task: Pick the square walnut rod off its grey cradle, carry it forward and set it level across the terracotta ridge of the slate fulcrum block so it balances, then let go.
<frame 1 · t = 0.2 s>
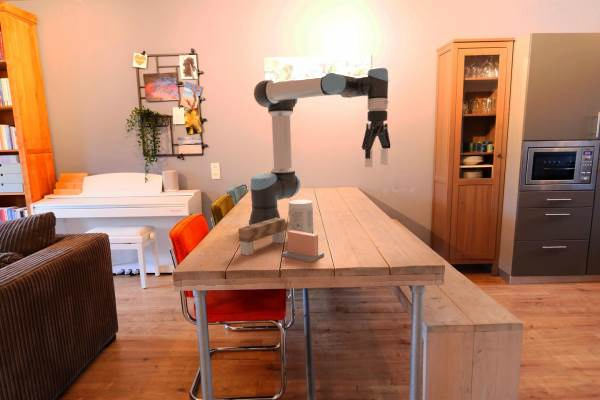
hand: (376, 166, 141), 28 cm above the table, fingers open, 13 cm apart
supplement tub: (301, 237, 144), on the table
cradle: (263, 247, 132), on the table
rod: (263, 235, 132), point 4 cm above the table, touching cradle
fulcrum: (302, 255, 122), on the table
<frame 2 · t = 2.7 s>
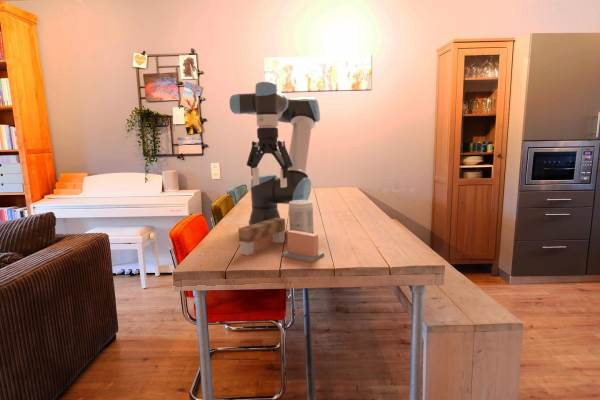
hand: (269, 186, 132), 22 cm above the table, fingers open, 13 cm apart
nothing on the table moved.
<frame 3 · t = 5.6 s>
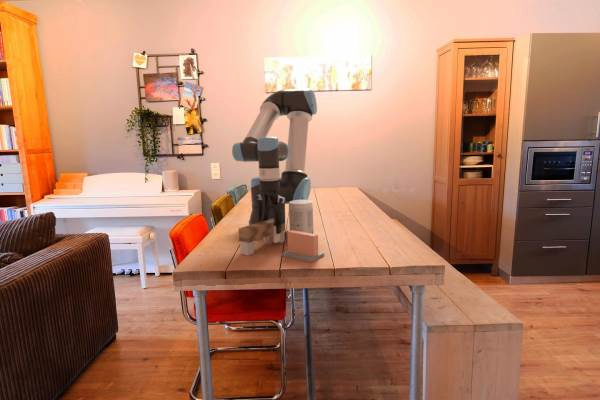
hand: (271, 240, 136), 1 cm above the table, fingers closed on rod, 4 cm apart
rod: (263, 235, 132), point 5 cm above the table, touching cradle, gripper
everything else where it was.
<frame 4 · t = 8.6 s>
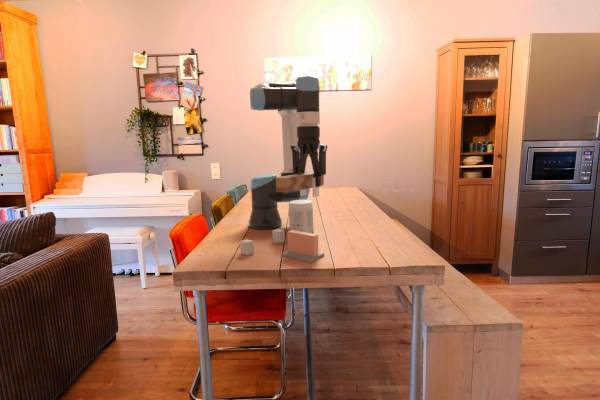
hand: (309, 195, 122), 20 cm above the table, fingers closed on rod, 4 cm apart
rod: (301, 188, 118), point 23 cm above the table, touching gripper
everything else where it was.
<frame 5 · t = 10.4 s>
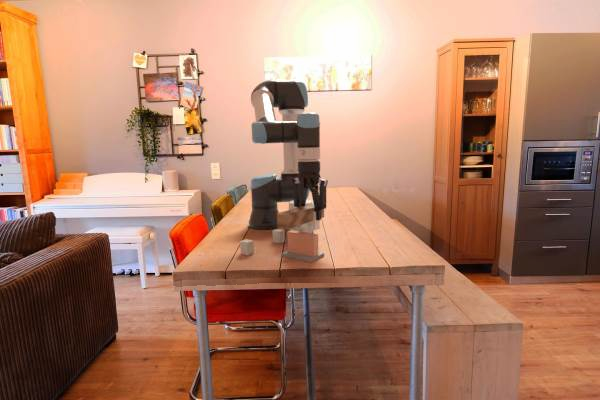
hand: (310, 228, 124), 9 cm above the table, fingers closed on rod, 4 cm apart
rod: (302, 221, 119), point 12 cm above the table, touching gripper
everything else where it was.
when the fingers open (6 cm above the table, at t = 11.7 s): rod stays where it is, resting on fulcrum.
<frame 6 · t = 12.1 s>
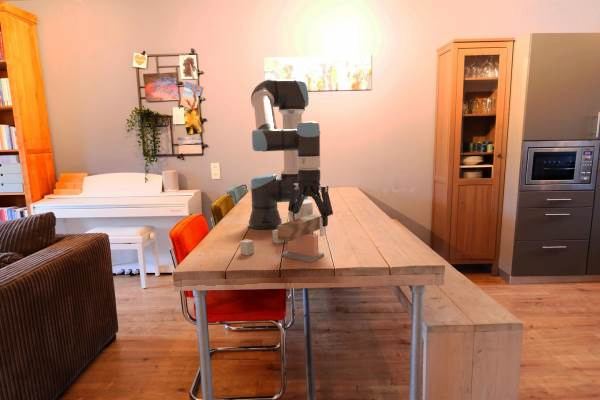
hand: (310, 233, 124), 7 cm above the table, fingers open, 10 cm apart
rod: (302, 233, 120), point 8 cm above the table, touching fulcrum
everything else where it was.
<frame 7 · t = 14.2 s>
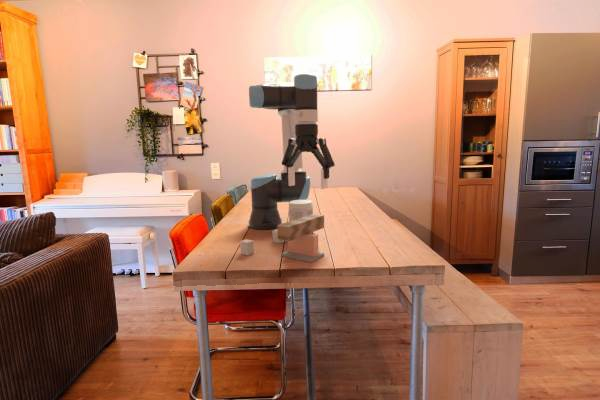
hand: (307, 187, 122), 23 cm above the table, fingers open, 13 cm apart
nothing on the table moved.
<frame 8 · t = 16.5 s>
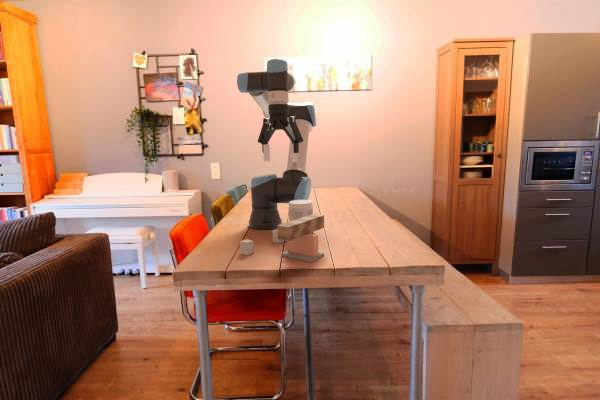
hand: (280, 161, 136), 31 cm above the table, fingers open, 13 cm apart
nothing on the table moved.
at the end: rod inside the target area on the fulcrum (0.1 cm from its centre), point 8.0 cm above the fulcrum's base; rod tilted 0°; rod touching fulcrum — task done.
